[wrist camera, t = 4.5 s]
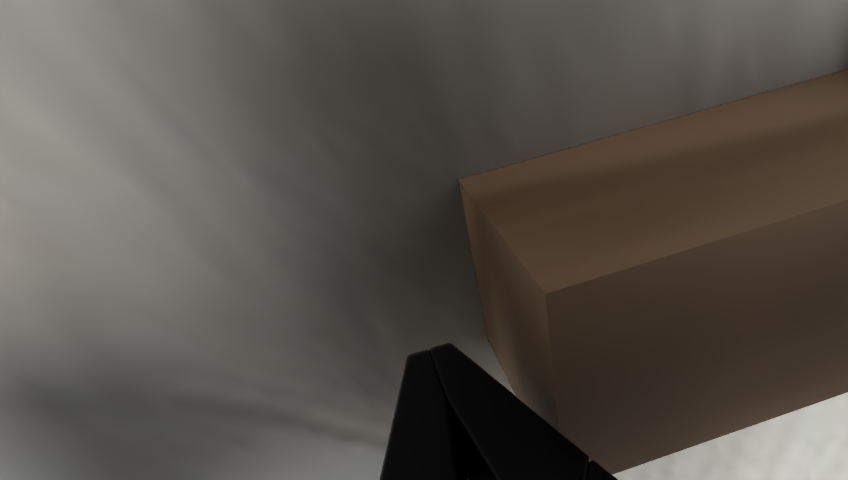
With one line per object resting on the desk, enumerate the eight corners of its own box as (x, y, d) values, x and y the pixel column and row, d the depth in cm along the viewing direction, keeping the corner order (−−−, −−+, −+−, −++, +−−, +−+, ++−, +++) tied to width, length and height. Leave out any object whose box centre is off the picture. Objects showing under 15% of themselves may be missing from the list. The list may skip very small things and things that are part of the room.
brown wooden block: (939, 189, 12) (1184, 273, 9) (484, 332, 11) (564, 490, 8) (1002, 18, 10) (1352, 42, 7) (454, 174, 9) (545, 294, 6)
